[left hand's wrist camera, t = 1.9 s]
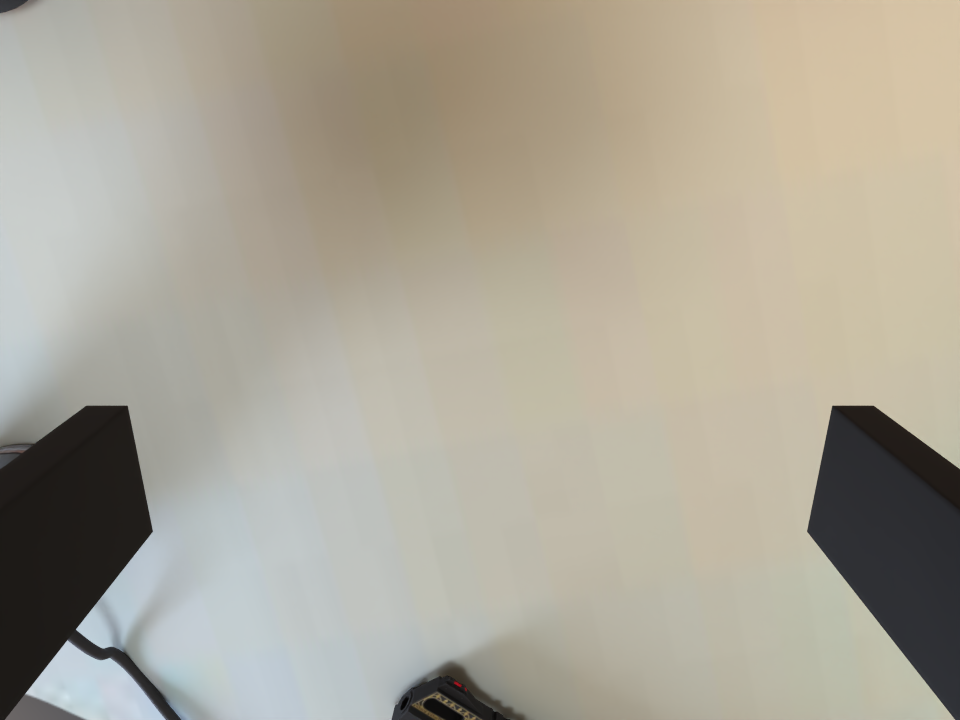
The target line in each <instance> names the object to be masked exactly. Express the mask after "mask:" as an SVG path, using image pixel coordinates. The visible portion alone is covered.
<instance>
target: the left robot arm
mask: <svg viewBox="0 0 960 720" xmlns="http://www.w3.org/2000/svg"><path fill="white" fill-rule="evenodd" d="M152 532H153V530H152V525H151V520H150V515H149V510H148V505H147V500H146V495H145V490H144V485H143V480H142V475H141V470H140V465H139V460H138V455H137V450H136V445H135V440H134V435H133V430H132V425H131V420H130V415H129V410H128V406H85V407H84V408H83V409H81V410H80V411H79V412H77V413H76V414H75V415H73V416H72V417H71V418H69V419H68V420H66V421H65V422H64V423H62V424H61V425H60V426H58V427H57V428H56V429H54V430H53V431H52V432H50V433H49V434H47V435H46V436H45V437H43V438H42V439H41V440H39V441H38V442H37V443H35V444H34V445H32V446H31V447H30V448H28V449H27V450H26V451H24V452H23V453H22V454H20V455H19V456H18V457H16V458H15V459H13V460H12V461H11V462H9V463H8V464H7V465H5V466H4V467H3V468H1V469H0V720H5V719H6V717H7V716H8V715H9V714H10V712H11V711H12V710H13V708H14V707H15V706H16V705H17V703H18V702H19V701H20V699H21V698H22V697H23V696H24V694H25V693H26V692H27V691H28V689H29V688H30V687H31V686H32V684H33V683H34V682H35V680H36V679H37V678H38V677H39V675H40V674H41V673H42V672H43V670H44V669H45V668H46V667H47V665H48V664H49V663H50V661H51V660H52V659H53V658H54V656H55V655H56V654H57V653H58V651H59V650H60V649H61V647H62V646H63V645H64V644H65V642H66V641H67V640H68V639H69V637H70V636H71V635H72V633H73V632H74V631H75V630H76V628H77V627H78V626H79V625H80V623H81V622H82V621H83V620H84V618H85V617H86V616H87V614H88V613H89V612H90V611H91V609H92V608H93V607H94V606H95V604H96V603H97V602H98V600H99V599H100V598H101V597H102V595H103V594H104V593H105V592H106V590H107V589H108V588H109V587H110V585H111V584H112V583H113V581H114V580H115V579H116V578H117V576H118V575H119V574H120V573H121V571H122V570H123V569H124V567H125V566H126V565H127V564H128V562H129V561H130V560H131V559H132V557H133V556H134V555H135V553H136V552H137V551H138V550H139V548H140V547H141V546H142V545H143V543H144V542H145V541H146V540H147V538H148V537H149V536H150V534H151V533H152ZM807 532H808V533H809V534H810V536H811V537H812V538H813V540H814V541H815V542H816V543H817V545H818V546H819V547H820V548H821V550H822V551H823V552H824V553H825V555H826V556H827V557H828V559H829V560H830V561H831V562H832V564H833V565H834V566H835V567H836V569H837V570H838V571H839V573H840V574H841V575H842V576H843V578H844V579H845V580H846V581H847V583H848V584H849V585H850V587H851V588H852V589H853V590H854V592H855V593H856V594H857V595H858V597H859V598H860V599H861V600H862V602H863V603H864V604H865V606H866V607H867V608H868V609H869V611H870V612H871V613H872V614H873V616H874V617H875V618H876V620H877V621H878V622H879V623H880V625H881V626H882V627H883V628H884V630H885V631H886V632H887V633H888V635H889V636H890V637H891V639H892V640H893V641H894V642H895V644H896V645H897V646H898V647H899V649H900V650H901V651H902V653H903V654H904V655H905V656H906V658H907V659H908V660H909V661H910V663H911V664H912V665H913V667H914V668H915V669H916V670H917V672H918V673H919V674H920V675H921V677H922V678H923V679H924V680H925V682H926V683H927V684H928V686H929V687H930V688H931V689H932V691H933V692H934V693H935V694H936V696H937V697H938V698H939V700H940V701H941V702H942V703H943V705H944V706H945V707H946V708H947V710H948V711H949V712H950V714H951V715H952V716H953V717H954V719H955V720H960V469H959V468H957V467H956V466H955V465H953V464H952V463H951V462H949V461H948V460H947V459H945V458H944V457H942V456H941V455H940V454H938V453H937V452H936V451H934V450H933V449H932V448H930V447H929V446H927V445H926V444H925V443H923V442H922V441H921V440H919V439H918V438H917V437H915V436H914V435H913V434H911V433H910V432H908V431H907V430H906V429H904V428H903V427H902V426H900V425H899V424H898V423H896V422H895V421H894V420H892V419H891V418H889V417H888V416H887V415H885V414H884V413H883V412H881V411H880V410H879V409H877V408H876V407H875V406H832V410H831V415H830V420H829V425H828V430H827V435H826V440H825V445H824V450H823V455H822V460H821V465H820V470H819V475H818V480H817V485H816V490H815V495H814V500H813V505H812V510H811V515H810V520H809V525H808V530H807Z"/></svg>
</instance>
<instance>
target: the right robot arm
mask: <svg viewBox="0 0 960 720" xmlns="http://www.w3.org/2000/svg"><path fill="white" fill-rule="evenodd" d="M31 446H32V445H12V446H6V447H2V448H0V469H1V468H3V467H4V466H5V465H7V464H8V463H9V462H11V461H12V460H13V459H15V458H16V457H18V456H19V455H20V454H22V453H23V452H24V451H26V450H27V449H28V448H30V447H31ZM68 641H69V642H71V643H72V644H73V645H74V646H76V647H77V648H78V649H80V650H81V651H83V652H84V653H86V654H87V655H89V656H91V657H93V658H95V659H98V660H104V659H108V658H111V659H113V660H114V661H115V662H117V663H118V664H119V665H120V666H121V667H122V668H123V669H124V670H125V671H126V672H127V673H128V674H129V675H130V676H131V677H132V678H133V679H134V680H135V682H136V683H137V684H138V685H139V686H140V688H141V689H142V690H143V691H144V693H145V694H146V695H147V696H148V698H149V699H150V700H151V702H152V703H153V704H154V705H155V707H156V708H157V709H158V711H159V712H160V713H161V714H162V716H163V717H164V718H165V719H166V720H181V719H180V718H179V717H178V715H177V714H176V713H175V712H174V711H173V709H172V708H171V707H170V706H169V705H168V703H167V702H166V701H165V699H164V698H163V697H162V696H161V694H160V693H159V692H158V690H157V689H156V688H155V687H154V686H153V684H152V683H151V682H150V681H149V680H148V679H147V678H146V677H145V675H144V674H143V673H142V672H141V671H140V670H139V669H138V667H137V666H136V665H135V664H134V663H133V662H132V660H131V659H130V658H129V657H128V656H127V655H125V654H124V653H123V652H121V651H120V650H119V649H117V648H114V647H108V648H105V649H102V648H100V647H98V646H96V645H95V644H93V643H92V642H91V641H89V640H88V639H87V638H85V637H84V636H83V635H81V634H80V633H79V632H78V631H77V630H75V631H74V632H73V633H72V635H71V636H70V637H69V639H68Z"/></svg>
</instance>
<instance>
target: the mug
mask: <svg viewBox="0 0 960 720" xmlns="http://www.w3.org/2000/svg"><path fill="white" fill-rule="evenodd" d="M26 1H28V0H0V13H2V12H6V11H9V10H12V9H15V8H17V7H18V6H20V5H22V4H24V3H25V2H26Z"/></svg>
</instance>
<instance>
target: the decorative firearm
mask: <svg viewBox="0 0 960 720" xmlns="http://www.w3.org/2000/svg"><path fill="white" fill-rule="evenodd" d="M392 720H510V719H505V718H504V717H503V715H502V714H500V713H498V712H494V711H493V709H492V708H490V707H488V706H486V705H485V704H483V703H482V702H480V701H478V700H477V699H475V697H474V696H473V695H472V694H471V693H470V692H469V691H468V690H467V689H466V687H465V686H464V685H463V684H460V683H458V682H457V681H455V679H453V678H452V677H449V676H446V677H443V678H442V677H440V676H439V677H437V678H435V679H433V680H431V681H429V682H427V683H425V684H423V685H421V686H419V687H417V688H413V687H412V688H411V689H410V690H409V691H408V692H407V693H406V694H405V695H404V696H403V697H402V698H401V700H400V702H399V704H398V705H395V708H394V712H393V716H392Z"/></svg>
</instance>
